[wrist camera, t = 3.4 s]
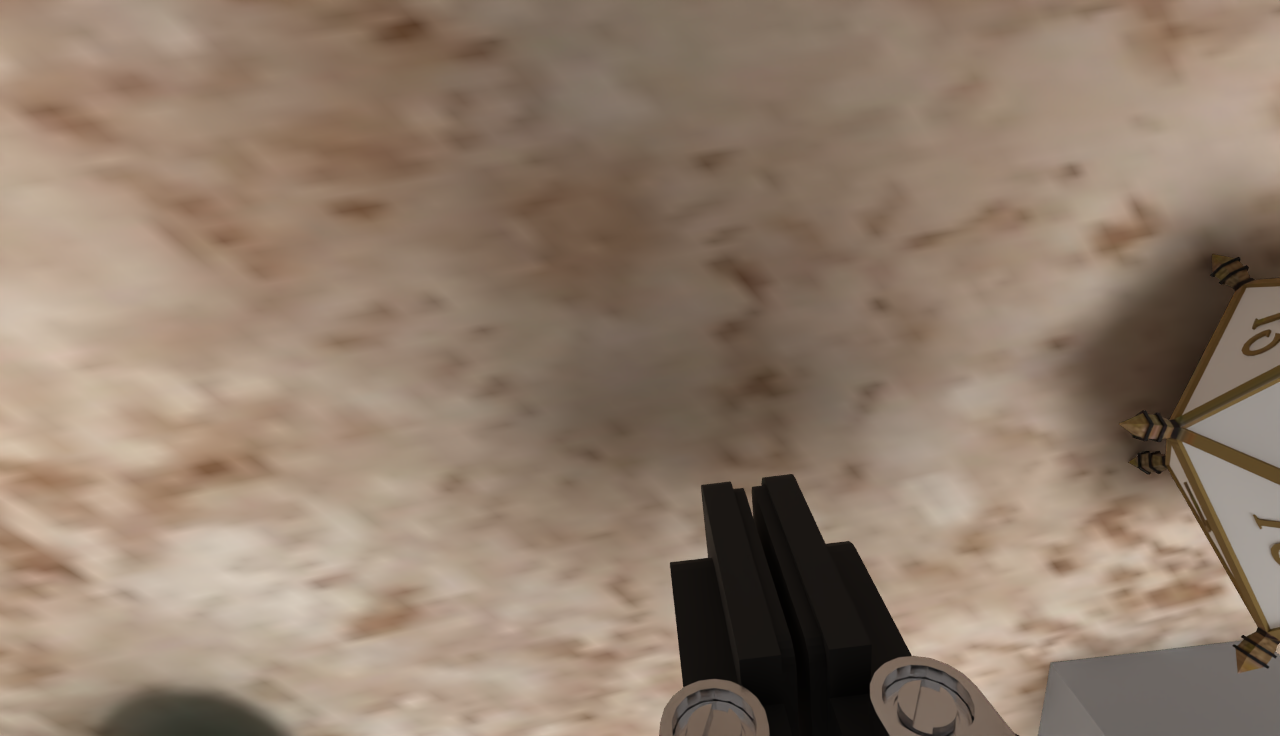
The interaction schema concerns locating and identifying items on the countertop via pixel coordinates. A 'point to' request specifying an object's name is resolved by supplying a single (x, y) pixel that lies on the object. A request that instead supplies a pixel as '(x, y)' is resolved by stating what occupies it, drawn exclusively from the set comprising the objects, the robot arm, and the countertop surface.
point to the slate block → (1162, 695)
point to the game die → (1233, 450)
